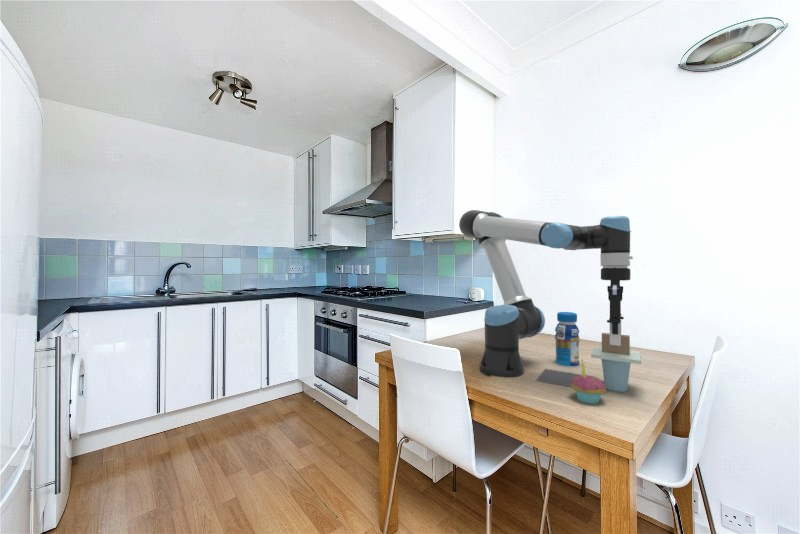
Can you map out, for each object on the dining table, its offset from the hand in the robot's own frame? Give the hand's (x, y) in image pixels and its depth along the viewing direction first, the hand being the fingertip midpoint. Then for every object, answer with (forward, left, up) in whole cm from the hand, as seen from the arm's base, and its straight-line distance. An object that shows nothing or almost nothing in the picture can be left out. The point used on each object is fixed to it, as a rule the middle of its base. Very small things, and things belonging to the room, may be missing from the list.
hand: (615, 342), depth 97 cm
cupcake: (-6, -15, -15) cm, 22 cm away
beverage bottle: (-16, +19, -15) cm, 29 cm away
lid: (0, 0, -4) cm, 4 cm away
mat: (-14, 0, -15) cm, 20 cm away
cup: (0, 0, -15) cm, 15 cm away
